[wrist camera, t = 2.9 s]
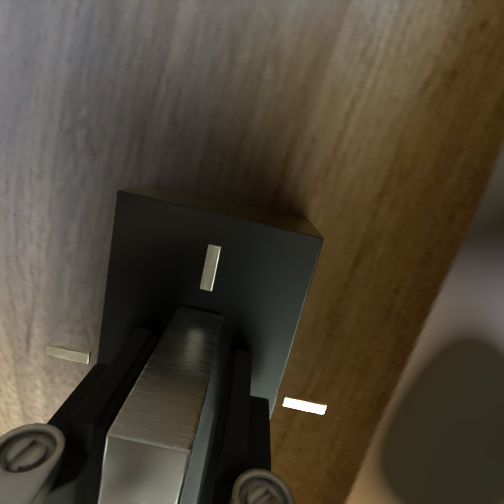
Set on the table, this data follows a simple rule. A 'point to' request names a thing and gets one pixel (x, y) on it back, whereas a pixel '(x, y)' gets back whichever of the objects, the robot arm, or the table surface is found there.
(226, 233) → the black stand
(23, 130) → the table surface
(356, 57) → the table surface
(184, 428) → the tapered metal-edged block
